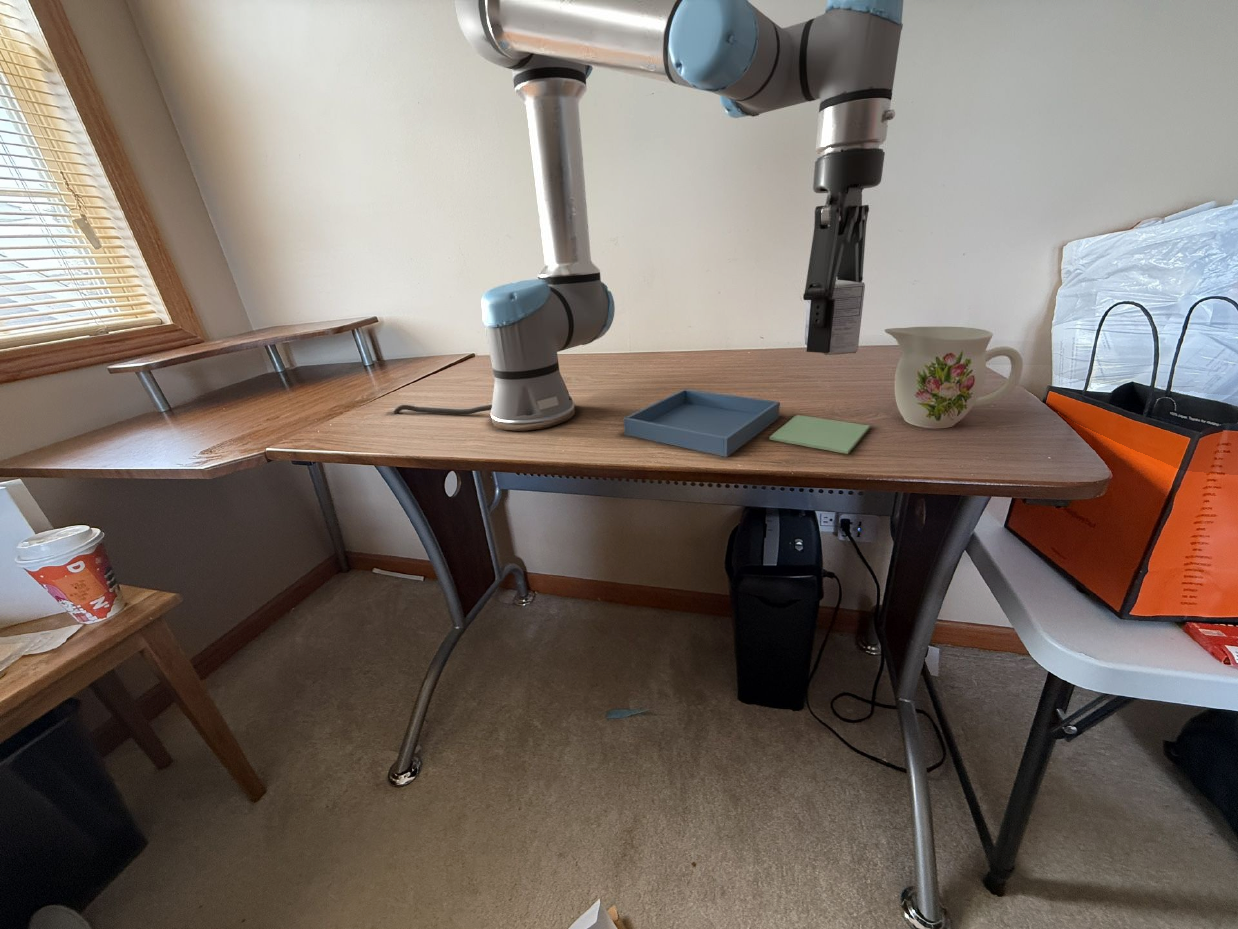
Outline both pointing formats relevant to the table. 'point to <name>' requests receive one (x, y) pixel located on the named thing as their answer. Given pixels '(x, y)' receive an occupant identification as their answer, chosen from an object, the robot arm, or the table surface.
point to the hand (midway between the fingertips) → (829, 344)
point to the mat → (821, 433)
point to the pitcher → (946, 373)
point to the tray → (703, 421)
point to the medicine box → (844, 317)
